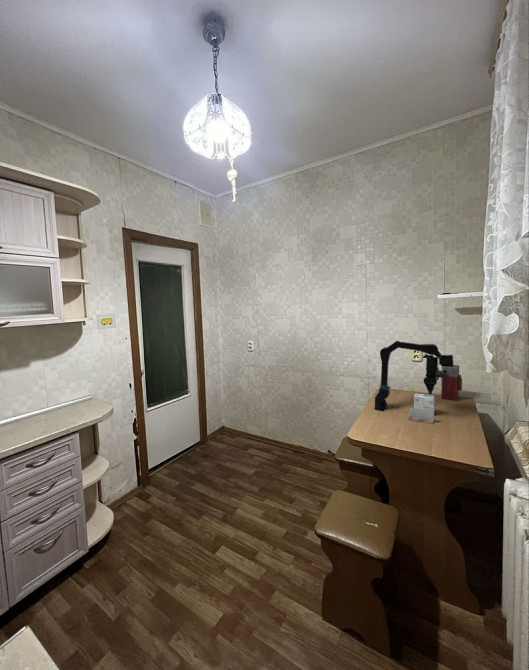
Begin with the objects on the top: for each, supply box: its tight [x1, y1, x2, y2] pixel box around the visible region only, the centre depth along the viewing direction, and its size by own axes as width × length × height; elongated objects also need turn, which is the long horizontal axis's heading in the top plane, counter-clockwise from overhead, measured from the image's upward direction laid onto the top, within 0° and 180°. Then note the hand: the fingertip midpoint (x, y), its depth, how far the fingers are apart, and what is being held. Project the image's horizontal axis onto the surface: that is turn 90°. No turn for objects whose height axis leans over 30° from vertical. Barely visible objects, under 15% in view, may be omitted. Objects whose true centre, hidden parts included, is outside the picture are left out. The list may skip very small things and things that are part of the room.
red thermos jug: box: [440, 364, 463, 402], centre depth 192 cm, size 9×11×28 cm
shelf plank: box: [408, 418, 435, 425], centre depth 157 cm, size 12×3×1 cm, turn 55°
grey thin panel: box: [408, 407, 435, 423], centre depth 159 cm, size 12×1×6 cm, turn 55°
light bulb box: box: [413, 393, 436, 412], centre depth 169 cm, size 11×7×11 cm, turn 58°
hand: (431, 392), depth 165 cm, fingers open, 9 cm apart
